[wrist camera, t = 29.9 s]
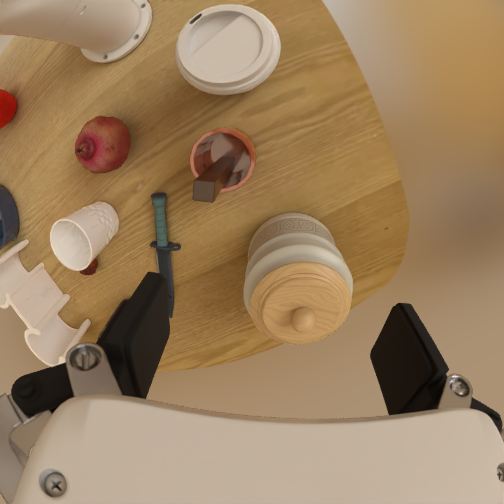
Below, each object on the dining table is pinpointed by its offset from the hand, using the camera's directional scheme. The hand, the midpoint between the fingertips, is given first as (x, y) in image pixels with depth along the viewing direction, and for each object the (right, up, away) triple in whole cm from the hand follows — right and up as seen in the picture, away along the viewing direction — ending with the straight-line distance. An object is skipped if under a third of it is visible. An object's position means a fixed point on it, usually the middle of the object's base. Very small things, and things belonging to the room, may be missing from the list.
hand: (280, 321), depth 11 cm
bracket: (-45, -5, +39) cm, 60 cm away
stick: (-4, +15, +26) cm, 30 cm away
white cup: (-26, +8, +31) cm, 41 cm away
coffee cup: (-3, +27, +21) cm, 34 cm away
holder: (-4, +16, +26) cm, 31 cm away
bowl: (-55, +11, +31) cm, 64 cm away
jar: (+5, +3, +32) cm, 33 cm away
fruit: (-21, +19, +26) cm, 38 cm away
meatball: (-30, +1, +35) cm, 46 cm away
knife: (-15, +1, +34) cm, 37 cm away
